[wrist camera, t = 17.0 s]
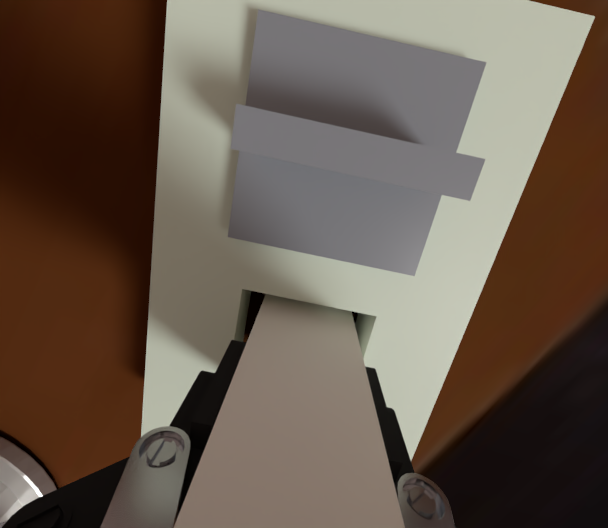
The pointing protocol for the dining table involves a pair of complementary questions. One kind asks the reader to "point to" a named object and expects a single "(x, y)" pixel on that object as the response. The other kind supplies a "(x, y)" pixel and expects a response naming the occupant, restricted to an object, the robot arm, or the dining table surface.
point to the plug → (295, 432)
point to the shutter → (349, 143)
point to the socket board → (324, 271)
